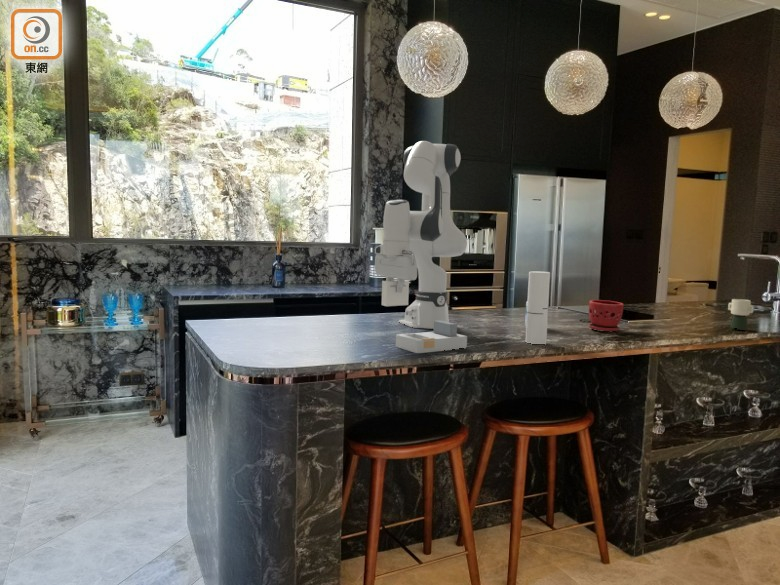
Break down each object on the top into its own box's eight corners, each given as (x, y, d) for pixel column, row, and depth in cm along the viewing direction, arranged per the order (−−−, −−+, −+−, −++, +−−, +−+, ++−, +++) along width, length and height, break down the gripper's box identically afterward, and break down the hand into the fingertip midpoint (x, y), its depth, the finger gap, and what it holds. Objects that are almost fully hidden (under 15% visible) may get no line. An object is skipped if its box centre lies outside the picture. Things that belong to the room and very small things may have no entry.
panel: (386, 306, 195) (387, 281, 194) (381, 305, 197) (382, 280, 196) (408, 304, 199) (409, 281, 198) (403, 303, 202) (403, 280, 201)
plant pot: (588, 332, 238) (590, 302, 237) (586, 327, 251) (588, 299, 250) (623, 334, 235) (625, 304, 234) (619, 329, 248) (621, 300, 247)
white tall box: (550, 344, 209) (554, 272, 206) (535, 345, 205) (539, 272, 203) (536, 340, 215) (539, 271, 213) (520, 342, 212) (524, 271, 209)
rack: (395, 346, 196) (396, 322, 195) (443, 342, 207) (444, 319, 206) (417, 353, 186) (418, 328, 185) (466, 348, 197) (468, 324, 196)
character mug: (756, 331, 253) (759, 301, 251) (745, 332, 250) (748, 301, 248) (731, 327, 262) (734, 298, 261) (721, 328, 259) (723, 298, 258)
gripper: (422, 251, 189) (421, 294, 191) (387, 248, 206) (386, 288, 208) (406, 251, 186) (404, 295, 187) (371, 248, 203) (371, 288, 204)
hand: (395, 291), depth 198 cm, fingers closed on panel, 3 cm apart
